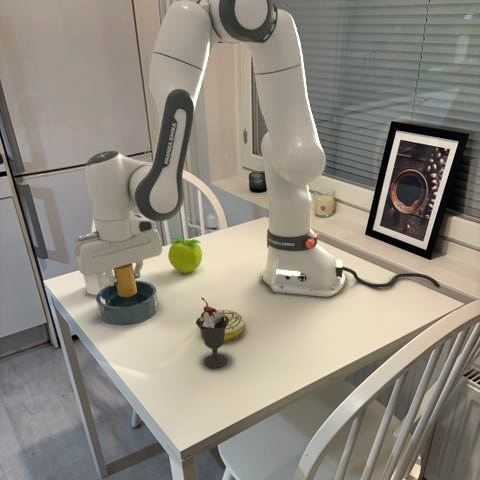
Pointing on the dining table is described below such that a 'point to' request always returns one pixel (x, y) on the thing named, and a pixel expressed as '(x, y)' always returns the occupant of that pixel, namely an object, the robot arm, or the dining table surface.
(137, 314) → the bowl
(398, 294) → the dining table surface
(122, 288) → the candle
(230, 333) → the decorated donut
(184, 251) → the fruit
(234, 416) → the dining table surface
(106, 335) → the dining table surface
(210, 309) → the sundae
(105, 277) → the jar
